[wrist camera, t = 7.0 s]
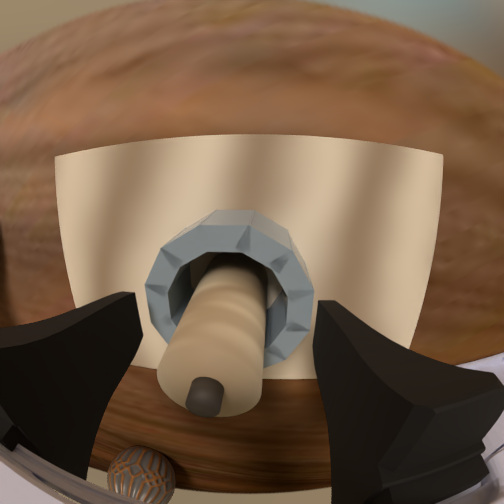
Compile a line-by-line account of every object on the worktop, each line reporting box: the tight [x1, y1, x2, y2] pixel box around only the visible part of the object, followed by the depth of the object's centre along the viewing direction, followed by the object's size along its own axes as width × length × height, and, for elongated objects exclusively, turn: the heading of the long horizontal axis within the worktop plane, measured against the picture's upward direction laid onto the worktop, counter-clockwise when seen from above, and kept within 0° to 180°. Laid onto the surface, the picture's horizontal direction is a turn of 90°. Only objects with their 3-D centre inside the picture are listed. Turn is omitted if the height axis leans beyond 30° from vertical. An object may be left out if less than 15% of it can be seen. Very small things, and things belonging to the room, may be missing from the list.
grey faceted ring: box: [144, 210, 315, 369], centre depth 13 cm, size 7×7×4 cm
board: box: [55, 134, 443, 379], centre depth 15 cm, size 22×14×1 cm, turn 90°
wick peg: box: [157, 252, 268, 417], centre depth 11 cm, size 3×3×8 cm
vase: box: [107, 446, 176, 504], centre depth 18 cm, size 7×7×9 cm
